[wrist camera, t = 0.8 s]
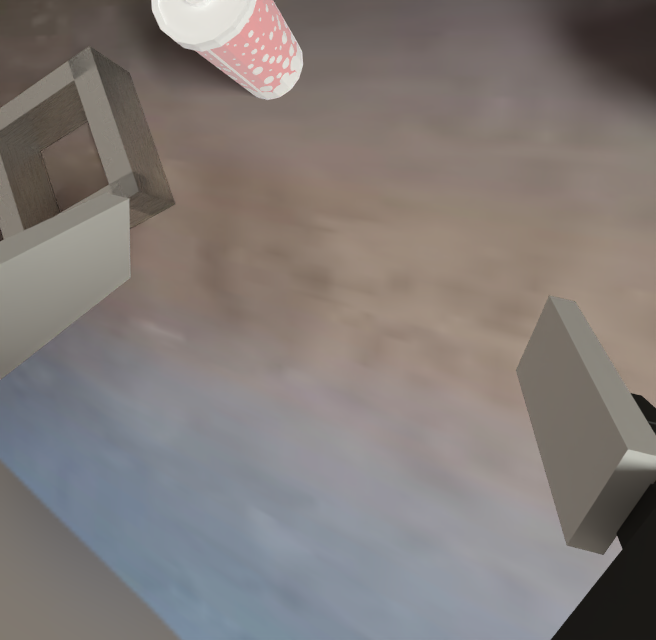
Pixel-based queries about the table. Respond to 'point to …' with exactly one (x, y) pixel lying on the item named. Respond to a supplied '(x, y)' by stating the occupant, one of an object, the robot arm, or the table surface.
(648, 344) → the table surface
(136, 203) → the grey hollow block
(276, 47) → the beverage cup
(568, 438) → the robot arm
